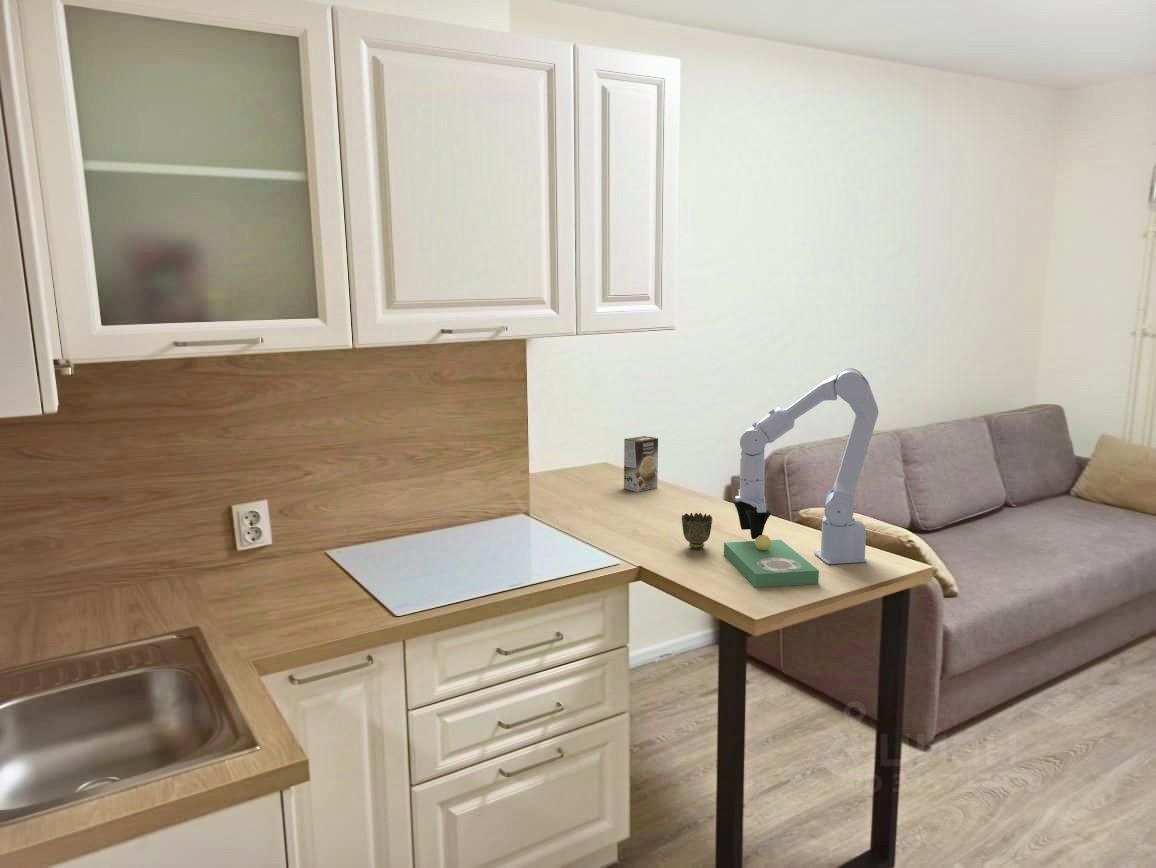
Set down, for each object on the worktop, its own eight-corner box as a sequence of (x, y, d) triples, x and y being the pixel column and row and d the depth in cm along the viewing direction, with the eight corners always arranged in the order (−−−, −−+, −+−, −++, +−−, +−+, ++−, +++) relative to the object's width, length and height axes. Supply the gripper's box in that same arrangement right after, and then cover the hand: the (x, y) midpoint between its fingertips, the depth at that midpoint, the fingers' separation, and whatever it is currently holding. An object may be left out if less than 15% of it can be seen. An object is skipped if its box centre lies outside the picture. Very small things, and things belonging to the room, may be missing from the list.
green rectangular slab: (780, 551, 199) (780, 539, 199) (818, 583, 178) (818, 570, 177) (723, 554, 197) (724, 542, 197) (755, 587, 176) (755, 574, 175)
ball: (767, 547, 193) (768, 532, 192) (773, 552, 189) (773, 537, 189) (752, 548, 192) (753, 533, 192) (758, 553, 189) (758, 537, 188)
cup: (711, 553, 198) (711, 521, 197) (680, 552, 200) (680, 519, 198) (712, 544, 205) (713, 512, 204) (682, 542, 207) (682, 511, 205)
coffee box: (637, 492, 257) (637, 441, 254) (623, 488, 261) (623, 438, 259) (658, 487, 262) (658, 437, 259) (644, 484, 267) (644, 435, 264)
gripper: (726, 472, 203) (725, 526, 205) (746, 486, 189) (744, 543, 191) (754, 471, 204) (753, 524, 206) (775, 485, 190) (774, 542, 192)
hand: (750, 533), depth 199 cm, fingers open, 7 cm apart
